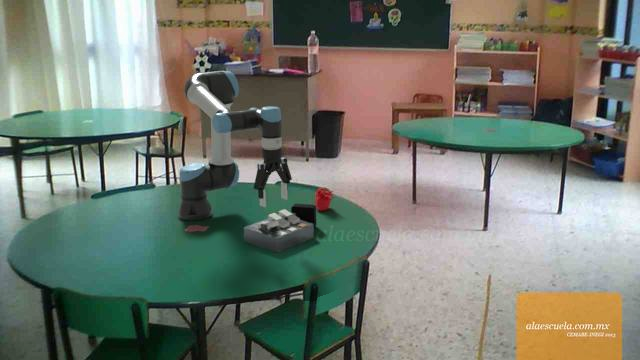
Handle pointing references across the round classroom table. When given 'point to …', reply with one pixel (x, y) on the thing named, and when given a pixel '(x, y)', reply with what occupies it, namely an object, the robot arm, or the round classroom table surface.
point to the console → (278, 234)
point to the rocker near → (269, 224)
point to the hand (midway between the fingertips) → (273, 202)
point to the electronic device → (305, 212)
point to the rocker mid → (279, 220)
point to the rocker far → (289, 216)
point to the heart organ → (323, 199)
